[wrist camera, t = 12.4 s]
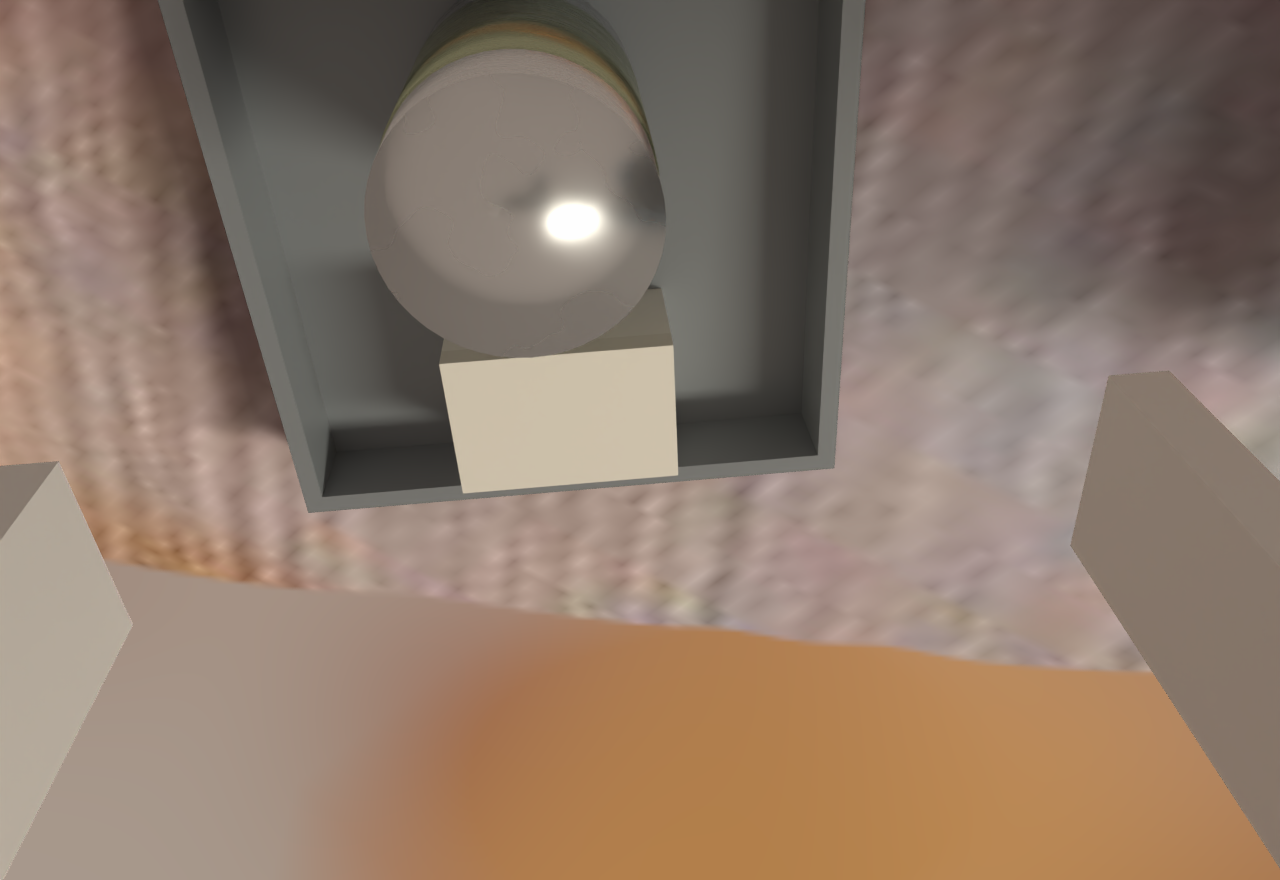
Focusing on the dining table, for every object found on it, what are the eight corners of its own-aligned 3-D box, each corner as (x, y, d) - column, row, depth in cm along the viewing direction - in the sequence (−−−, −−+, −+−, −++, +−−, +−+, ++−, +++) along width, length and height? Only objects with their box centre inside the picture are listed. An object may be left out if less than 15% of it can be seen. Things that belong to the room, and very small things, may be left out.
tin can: (640, 196, 32) (671, 349, 24) (433, 209, 32) (390, 369, 23) (632, -29, 28) (664, 60, 20) (397, -16, 28) (332, 80, 20)
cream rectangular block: (661, 288, 34) (673, 345, 30) (666, 410, 36) (678, 475, 33) (449, 304, 34) (439, 363, 30) (471, 426, 36) (462, 493, 33)
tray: (840, -139, 28) (873, -128, 25) (812, 414, 38) (834, 468, 35) (178, -96, 27) (134, -79, 25) (327, 454, 37) (308, 512, 34)
